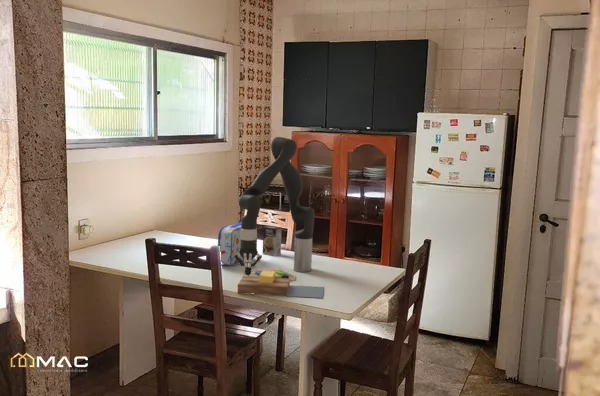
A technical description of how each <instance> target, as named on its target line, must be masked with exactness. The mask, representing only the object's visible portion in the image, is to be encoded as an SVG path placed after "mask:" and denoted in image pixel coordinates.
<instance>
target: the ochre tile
mask: <svg viewBox="0 0 600 396" xmlns="http://www.w3.org/2000/svg"><path fill="white" fill-rule="evenodd" d="M261 271H262V272H261V274H260V277H259V283H273V281H274V279H275V271H267V270H261Z"/></svg>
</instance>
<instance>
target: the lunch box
mask: <svg viewBox="0 0 600 396" xmlns="http://www.w3.org/2000/svg"><path fill="white" fill-rule="evenodd" d="M240 236H241V221H239V222H236V223H233V224H228V225H225V226H223V227H221V228H220V229H219V231H218V236H217V247H218V246H220V252H221V262H222V265H227V266H236V265H240V263H239V262H238V261H237V259H236V258H235V255H236V254H238V253H239V251H240V239H241V238H240ZM240 256H241V255H240ZM240 258H241V259H242V261H243V262H244V259H243V258H242V256H241V257H240Z"/></svg>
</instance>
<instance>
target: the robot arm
mask: <svg viewBox="0 0 600 396" xmlns="http://www.w3.org/2000/svg"><path fill="white" fill-rule="evenodd" d="M297 148H298V147H297V143H296V141H295V140H294V139H291V138H288V137H287V138H286V137H282V136H275V137H274V138H272V140H271V143H270V151H271V153H272V156H273V158H274V161H273V162H272V163H271V164H269V165H268V166H266V167H264V168H263V169H262V170H261V171H260V172H259V173H258V175H257V176H256V177H255V180H254V181H253V182H252V184H251V185H249V186H248V187H247V189H245V191H244V192H242V194H241V195H240V197H239V199H238V205H239V207H240V208H241V209H243V210H246V214H245V215H242V216H241V221H240V222H241V236H240V238H241V239H240V251H239V253H238V254H236V255H235V258H236V259H237V261H238V262H239V265H240V266H241V267H244V274H245V276H247V275H250V274H251V273H252V268H254V267H256V265H257V264H258V262H260V261H261V259H262V257H263V255H261V254H259V251H258V230H257V228H258V227H257V225H258V218H259V214H260V209H261V200H260V197H259V196H262V195H264V194H265V193H266V192H267V190H268V189H269V187H270V185H271V184H272V182H273V181H274V179H275V178H276V177H277V175H278V174H280V178H281V180H282V184H283V187H284V191H285V194H286V196H287V197H286V198H287V201H288V204H289V211H290V214H291V219H292V221H293V223H294V224H297V225H303V229H300V230H296V231H295V232H294V243H293V244H294V246H293V247H294V249H293V250H294V252H293V255H294V256H293V270H294V271H295V272H300V273H307V272H308V273H309V272H311V271H312V266H313V265H312V264H313V263H312V260H313V259H312V258H313V236H314V235H313V234H314V227H315V216H316V215H315V210H314V208H313V207H311V206H310V207H308V206H301V205H300V203H299V199H300V196H301V195H302V192H303V189H304V184H303V180H302V176H301V174H300V173H299V171H298V170H297V169H296V167H295V166H294V165H293V163H292V162H291V160H292V158H293V157H294V156H295V155H296V152H297ZM240 255H241V256H242V258H243V259H244V262H243V261H242V259H241V258H240V257H241V256H240ZM255 258H256V259H255ZM254 259H255V261H253V260H254Z"/></svg>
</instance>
